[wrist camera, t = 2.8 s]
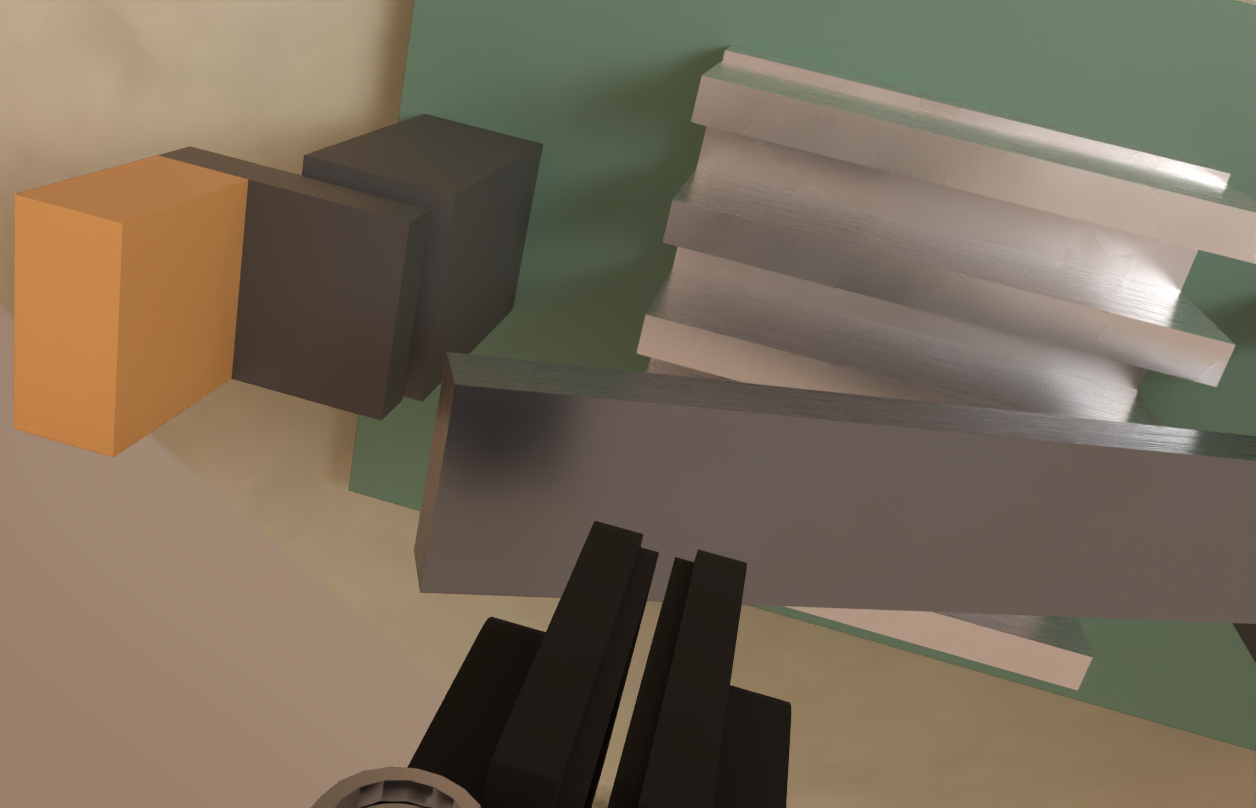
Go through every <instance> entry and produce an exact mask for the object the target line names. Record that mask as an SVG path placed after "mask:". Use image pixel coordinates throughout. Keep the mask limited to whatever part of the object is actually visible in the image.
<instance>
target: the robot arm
mask: <svg viewBox="0 0 1256 808" xmlns="http://www.w3.org/2000/svg"><path fill="white" fill-rule="evenodd" d="M643 535H644V534H642V533H638V532H634V531H631V530H627V529H624V528H620V527H616V526H613V525H609V524H606V523H602V522H598V521H594V523H593V525H592V527H591V530H590V532H589V534H588V537H587V539H586V541H585V544H584V546H583V548H582V551H581V553H580V555H579V557H578V560H577V562H576V564H575V567H574V569H573V571H572V574H571V576H570V578H569V581H568V583H567V585H566V587H565V590H564V592H563V594H562V597H561V599H560V601H559V604H558V606H557V608H556V611H555V613H554V615H553V617H552V620H551V622H550V624H549V627H548V629H547V631H546V632H543V631H539V630H536V629H532V628H529V627H525V626H522V625H518V624H515V623H511V622H508V621H504V620H501V619H497V618H494V617H490V618H488V619H487V620H486V622H485V624H484V625H483V627H482V629H481V631H480V632H479V634H478V636H477V638H476V640H475V642H474V644H473V646H472V647H471V649H470V651H469V653H468V655H467V657H466V659H465V661H464V662H463V664H462V666H461V668H460V670H459V672H458V674H457V676H456V677H455V679H454V681H453V683H452V685H451V687H450V689H449V691H448V692H447V694H446V696H445V698H444V700H443V702H442V704H441V706H440V708H439V709H438V711H437V713H436V715H435V717H434V719H433V721H432V722H431V724H430V726H429V728H428V730H427V732H426V734H425V736H424V737H423V739H422V741H421V743H420V745H419V747H418V749H417V751H416V753H415V754H414V756H413V758H412V760H411V762H410V764H409V766H408V767H407V768H401V767H385V768H380V769H373V770H367V771H362V772H360V773H358V774H355V775H353V776H350V777H348V778H346V779H343V780H341V781H339V782H338V783H337V784H335V785H334V786H333V787H332V788H331V789H329V790H328V791H327V792H326V793H324V794H323V795H322V796H321V797H320V798H319V799H318V800H317V801H316V802H315V804H314V805H313V806H312V807H311V808H591V807H592V804H593V800H594V797H595V793H596V790H597V786H598V783H599V779H600V776H601V772H602V768H603V765H604V761H605V757H606V754H607V750H608V746H609V742H610V739H611V735H612V731H613V727H614V723H615V720H616V716H617V712H618V708H619V704H620V701H621V697H622V693H623V689H624V685H625V682H626V678H627V674H628V670H629V666H630V663H631V659H632V655H633V651H634V647H635V644H636V640H637V636H638V632H639V628H640V625H641V621H642V617H643V613H644V609H645V606H646V602H647V598H648V594H649V590H650V587H651V583H652V579H653V575H654V571H655V568H656V564H657V560H658V556H659V552H656V551H653V550H649V549H645V548H642V547H641V544H642V540H643ZM746 570H747V563H746V562H742V561H739V560H735V559H731V558H728V557H724V556H721V555H717V554H713V553H710V552H706V551H703V550H699V549H698V551H697V554H696V557H695V561H694V562H692V561H688V560H685V559H681V558H678V557H675V559H674V563H673V567H672V570H671V574H670V578H669V581H668V585H667V589H666V593H665V596H664V600H663V604H662V607H661V611H660V615H659V618H658V622H657V626H656V630H655V633H654V637H653V641H652V644H651V648H650V652H649V656H648V659H647V663H646V667H645V670H644V674H643V678H642V681H641V685H640V689H639V693H638V696H637V700H636V704H635V707H634V711H633V715H632V719H631V722H630V726H629V730H628V733H627V737H626V741H625V745H624V748H623V752H622V756H621V759H620V763H619V767H618V770H617V774H616V778H615V782H614V785H613V789H612V793H611V796H610V800H609V804H608V808H786V799H787V781H788V763H789V746H790V728H791V705H790V703H789V702H786V701H783V700H779V699H776V698H773V697H769V696H766V695H762V694H759V693H755V692H752V691H748V690H745V689H741V688H738V687H734V686H731V685H730V680H731V673H732V667H733V660H734V653H735V646H736V639H737V632H738V625H739V618H740V611H741V604H742V598H743V591H744V584H745V577H746Z"/></svg>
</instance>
